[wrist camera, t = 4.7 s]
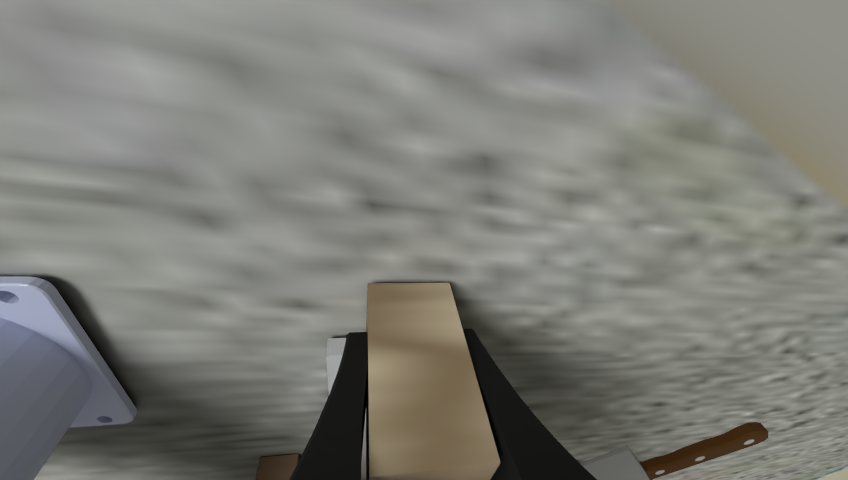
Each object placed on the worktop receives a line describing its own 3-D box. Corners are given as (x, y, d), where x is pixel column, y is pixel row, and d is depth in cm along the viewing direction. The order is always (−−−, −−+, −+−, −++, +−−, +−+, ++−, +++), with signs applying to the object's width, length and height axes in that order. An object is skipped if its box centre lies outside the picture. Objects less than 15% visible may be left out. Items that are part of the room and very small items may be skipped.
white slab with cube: (337, 474, 21) (328, 614, 17) (324, 283, 12) (296, 485, 7) (430, 464, 22) (447, 593, 18) (487, 282, 13) (559, 456, 8)
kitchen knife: (770, 395, 23) (770, 449, 28) (756, 382, 24) (758, 436, 29) (456, 509, 28) (504, 537, 33) (454, 495, 29) (501, 523, 34)
